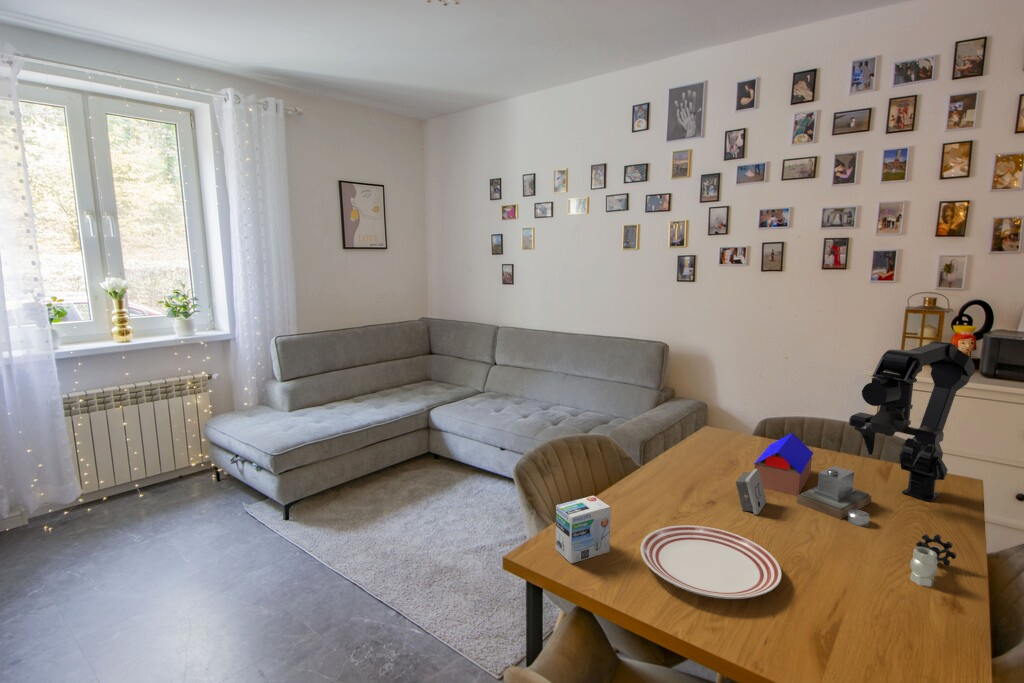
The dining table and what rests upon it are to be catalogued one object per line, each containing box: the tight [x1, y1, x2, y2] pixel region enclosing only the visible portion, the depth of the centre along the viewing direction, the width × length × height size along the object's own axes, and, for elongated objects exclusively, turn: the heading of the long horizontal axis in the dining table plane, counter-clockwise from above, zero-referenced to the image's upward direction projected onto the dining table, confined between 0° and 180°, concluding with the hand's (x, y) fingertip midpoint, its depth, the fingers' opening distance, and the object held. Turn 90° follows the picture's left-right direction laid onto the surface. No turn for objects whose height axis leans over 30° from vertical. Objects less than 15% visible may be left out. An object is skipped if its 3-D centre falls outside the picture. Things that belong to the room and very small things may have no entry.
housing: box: [814, 465, 857, 502], centre depth 137 cm, size 9×6×7 cm, turn 123°
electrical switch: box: [735, 468, 767, 516], centre depth 136 cm, size 9×5×9 cm, turn 141°
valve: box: [909, 533, 958, 588], centre depth 106 cm, size 7×7×12 cm
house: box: [753, 432, 814, 497], centre depth 152 cm, size 12×20×12 cm, turn 142°
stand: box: [796, 485, 872, 520], centre depth 138 cm, size 16×11×2 cm
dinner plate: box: [640, 524, 782, 600], centre depth 109 cm, size 28×27×3 cm
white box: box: [555, 495, 612, 564], centre depth 116 cm, size 11×7×11 cm, turn 117°
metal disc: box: [847, 509, 871, 528], centre depth 128 cm, size 4×4×2 cm
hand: (890, 459), depth 133 cm, fingers open, 9 cm apart
